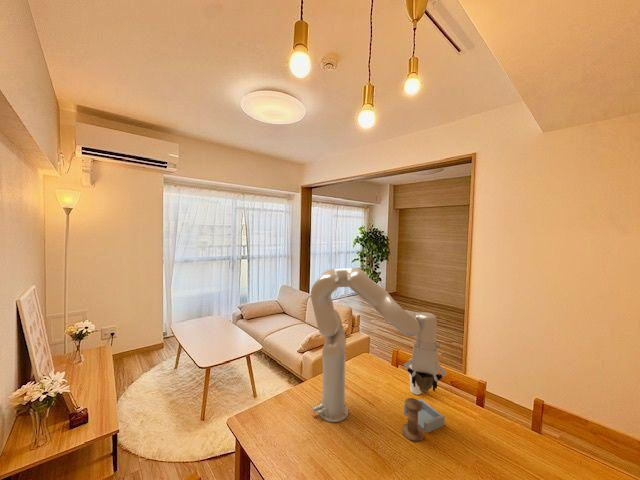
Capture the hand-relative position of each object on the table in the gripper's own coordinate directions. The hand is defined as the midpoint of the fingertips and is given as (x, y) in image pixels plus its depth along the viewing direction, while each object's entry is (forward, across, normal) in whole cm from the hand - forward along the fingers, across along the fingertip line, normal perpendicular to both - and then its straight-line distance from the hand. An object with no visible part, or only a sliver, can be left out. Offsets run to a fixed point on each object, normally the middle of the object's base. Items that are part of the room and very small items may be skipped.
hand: (424, 386), depth 104 cm
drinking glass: (+15, +3, -20) cm, 25 cm away
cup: (+2, 0, 0) cm, 2 cm away
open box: (+14, 0, -1) cm, 14 cm away
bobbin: (+14, +4, +9) cm, 17 cm away
